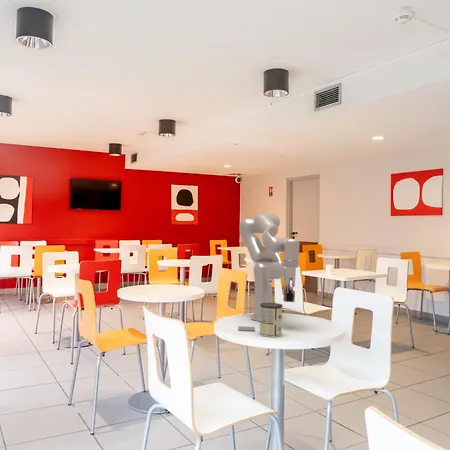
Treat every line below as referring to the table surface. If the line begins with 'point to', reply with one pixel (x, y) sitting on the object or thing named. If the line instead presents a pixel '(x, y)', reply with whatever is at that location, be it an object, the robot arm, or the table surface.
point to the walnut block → (285, 296)
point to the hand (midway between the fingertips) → (288, 299)
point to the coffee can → (271, 319)
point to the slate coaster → (246, 328)
